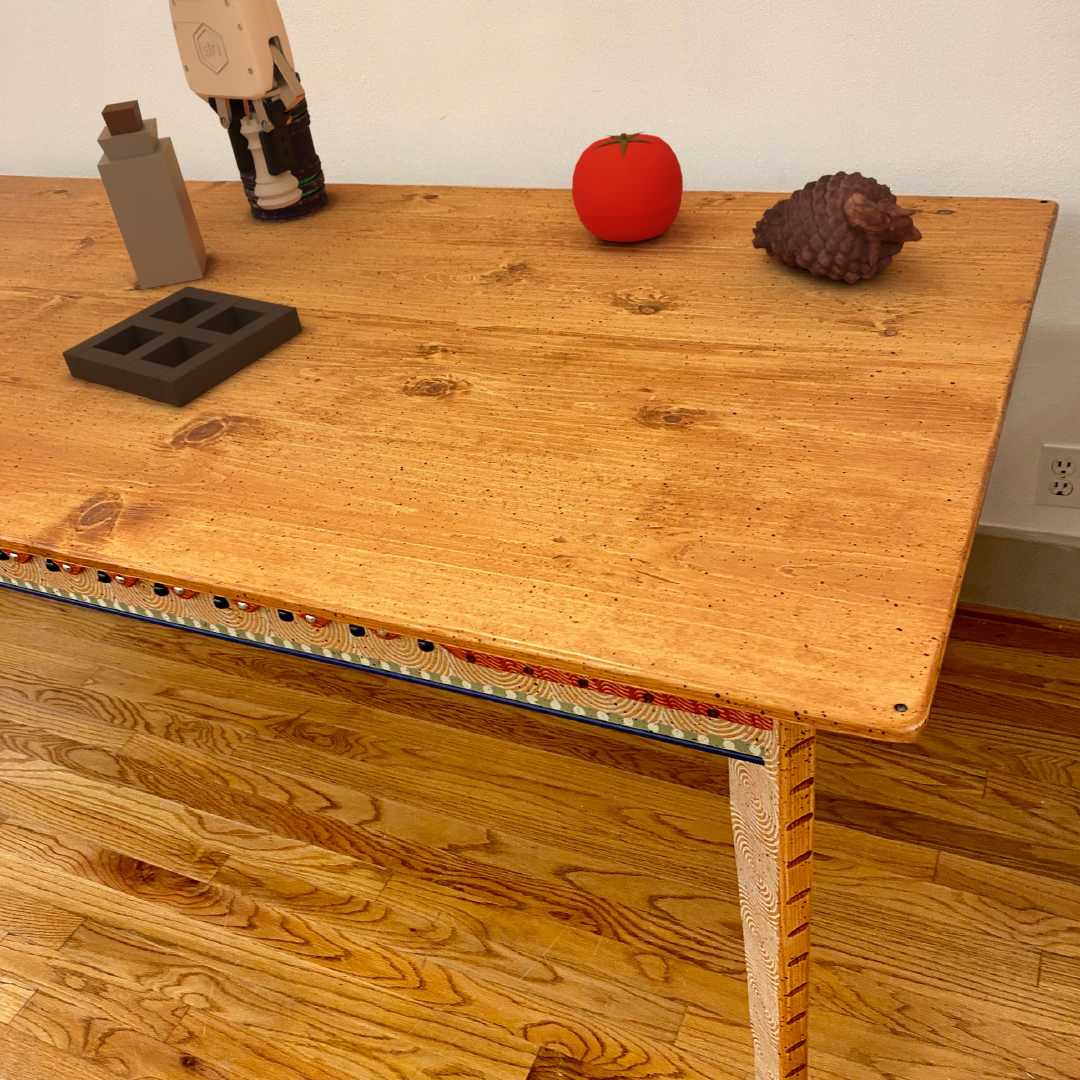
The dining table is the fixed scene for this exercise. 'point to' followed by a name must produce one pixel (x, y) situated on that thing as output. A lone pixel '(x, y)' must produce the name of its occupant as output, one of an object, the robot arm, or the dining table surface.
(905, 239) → the pine cone
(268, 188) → the rook chess piece
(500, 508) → the dining table surface
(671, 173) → the tomato
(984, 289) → the dining table surface
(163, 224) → the perfume bottle
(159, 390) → the holder
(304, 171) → the dark purple cylinder
